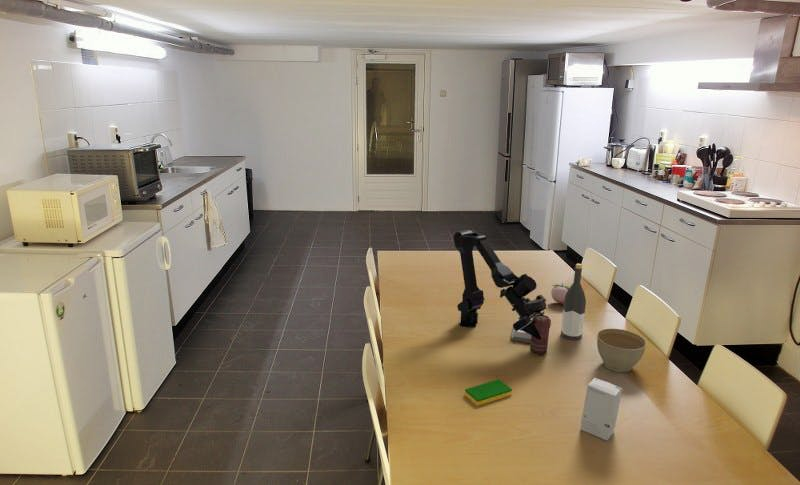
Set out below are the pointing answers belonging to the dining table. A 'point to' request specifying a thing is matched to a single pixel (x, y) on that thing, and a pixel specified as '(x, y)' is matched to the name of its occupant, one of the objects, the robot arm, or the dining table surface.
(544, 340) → the can
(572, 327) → the wine bottle
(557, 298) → the decorative fruit
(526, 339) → the tray
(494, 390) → the dish sponge
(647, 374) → the dining table surface
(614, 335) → the planter bowl
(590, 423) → the skincare box
